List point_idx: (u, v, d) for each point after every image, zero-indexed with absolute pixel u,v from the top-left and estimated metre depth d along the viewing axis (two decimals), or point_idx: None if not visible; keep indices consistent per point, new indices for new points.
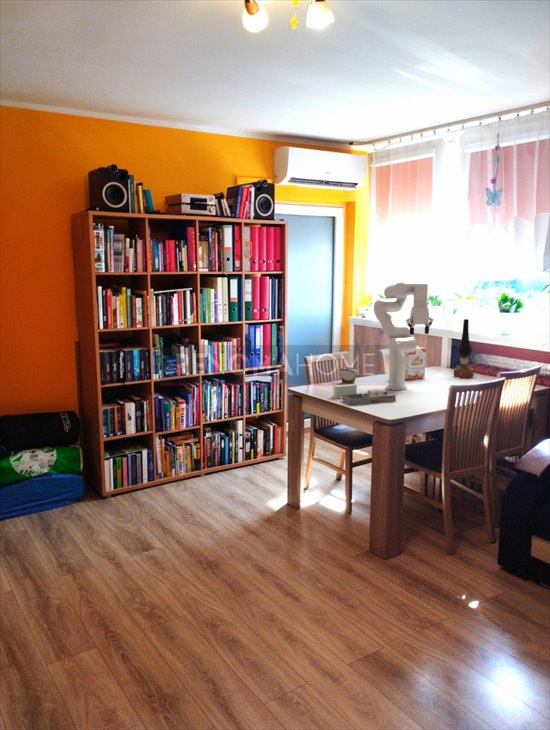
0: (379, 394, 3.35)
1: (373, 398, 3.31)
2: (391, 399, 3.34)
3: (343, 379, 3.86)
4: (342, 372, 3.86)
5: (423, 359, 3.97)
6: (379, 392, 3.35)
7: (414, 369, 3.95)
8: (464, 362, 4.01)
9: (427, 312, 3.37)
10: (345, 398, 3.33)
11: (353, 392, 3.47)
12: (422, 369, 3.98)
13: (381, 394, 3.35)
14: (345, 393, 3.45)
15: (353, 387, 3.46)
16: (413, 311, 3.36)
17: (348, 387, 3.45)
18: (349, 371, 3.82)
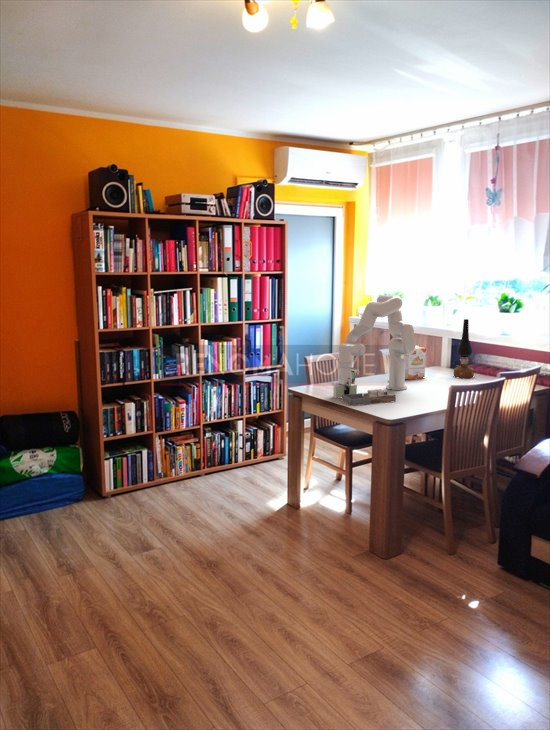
0: (379, 394, 3.35)
1: (373, 398, 3.31)
2: (391, 399, 3.34)
3: None
4: None
5: (423, 359, 3.97)
6: (379, 392, 3.35)
7: (414, 369, 3.95)
8: (464, 362, 4.01)
9: None
10: (345, 398, 3.33)
11: (353, 392, 3.46)
12: (422, 369, 3.98)
13: (381, 394, 3.35)
14: None
15: (353, 387, 3.46)
16: (349, 372, 3.41)
17: None
18: None
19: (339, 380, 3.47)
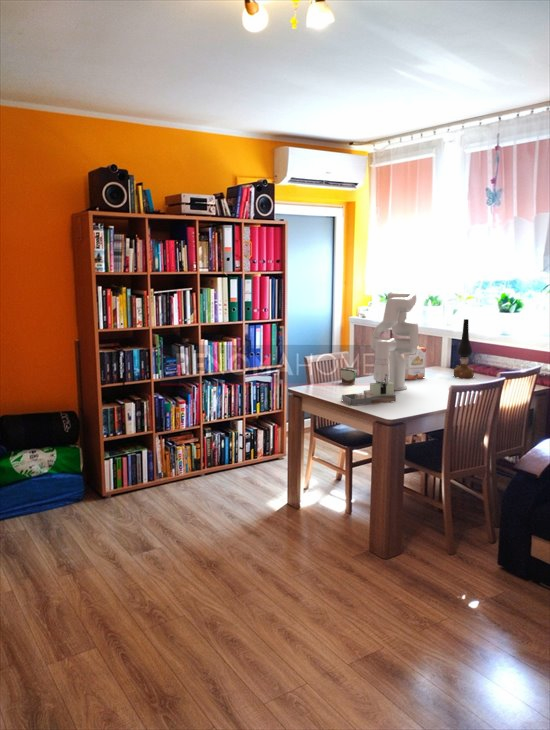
0: (368, 395, 3.33)
1: (373, 398, 3.31)
2: (391, 399, 3.34)
3: (343, 379, 3.86)
4: (342, 372, 3.86)
5: (423, 359, 3.97)
6: (368, 393, 3.32)
7: (414, 369, 3.95)
8: (464, 362, 4.01)
9: None
10: (345, 398, 3.33)
11: (390, 390, 3.37)
12: (422, 369, 3.98)
13: (370, 395, 3.33)
14: None
15: (390, 385, 3.36)
16: (386, 369, 3.31)
17: None
18: (349, 371, 3.82)
19: (375, 377, 3.37)
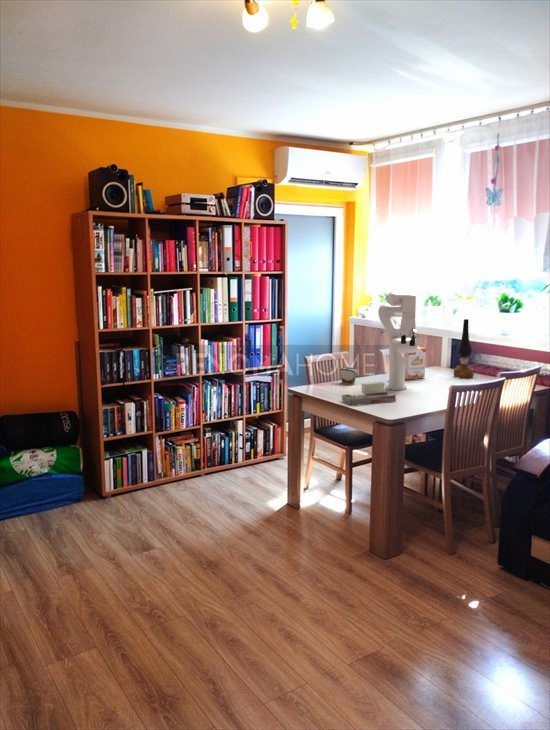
0: None
1: (373, 398, 3.31)
2: (391, 399, 3.34)
3: (343, 379, 3.86)
4: (342, 372, 3.86)
5: (423, 359, 3.97)
6: (360, 396, 3.31)
7: (414, 369, 3.95)
8: (464, 362, 4.01)
9: None
10: (345, 398, 3.33)
11: (381, 390, 3.52)
12: (422, 369, 3.98)
13: None
14: (373, 391, 3.51)
15: (381, 385, 3.52)
16: (413, 323, 3.37)
17: (376, 384, 3.51)
18: (349, 371, 3.82)
19: (402, 331, 3.43)
